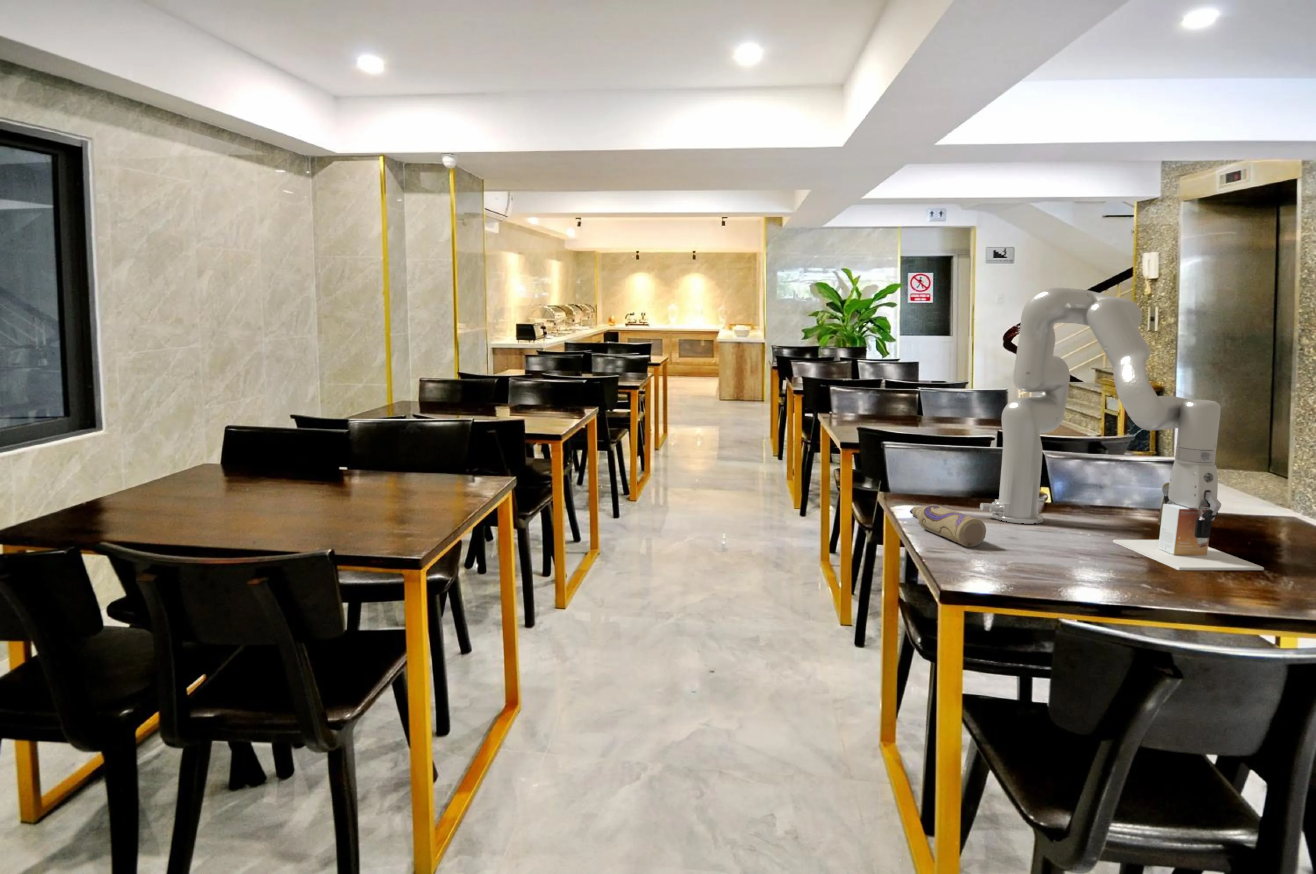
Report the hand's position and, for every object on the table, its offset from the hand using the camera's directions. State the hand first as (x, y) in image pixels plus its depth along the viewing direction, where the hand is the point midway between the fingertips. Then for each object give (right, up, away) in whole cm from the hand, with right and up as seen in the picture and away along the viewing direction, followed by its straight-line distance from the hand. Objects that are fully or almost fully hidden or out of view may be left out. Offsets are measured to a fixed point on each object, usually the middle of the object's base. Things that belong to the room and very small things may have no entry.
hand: (1186, 532), depth 196 cm
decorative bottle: (-49, -3, +15) cm, 51 cm away
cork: (+14, -2, +31) cm, 34 cm away
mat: (0, -5, +1) cm, 5 cm away
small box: (0, -5, +1) cm, 5 cm away
